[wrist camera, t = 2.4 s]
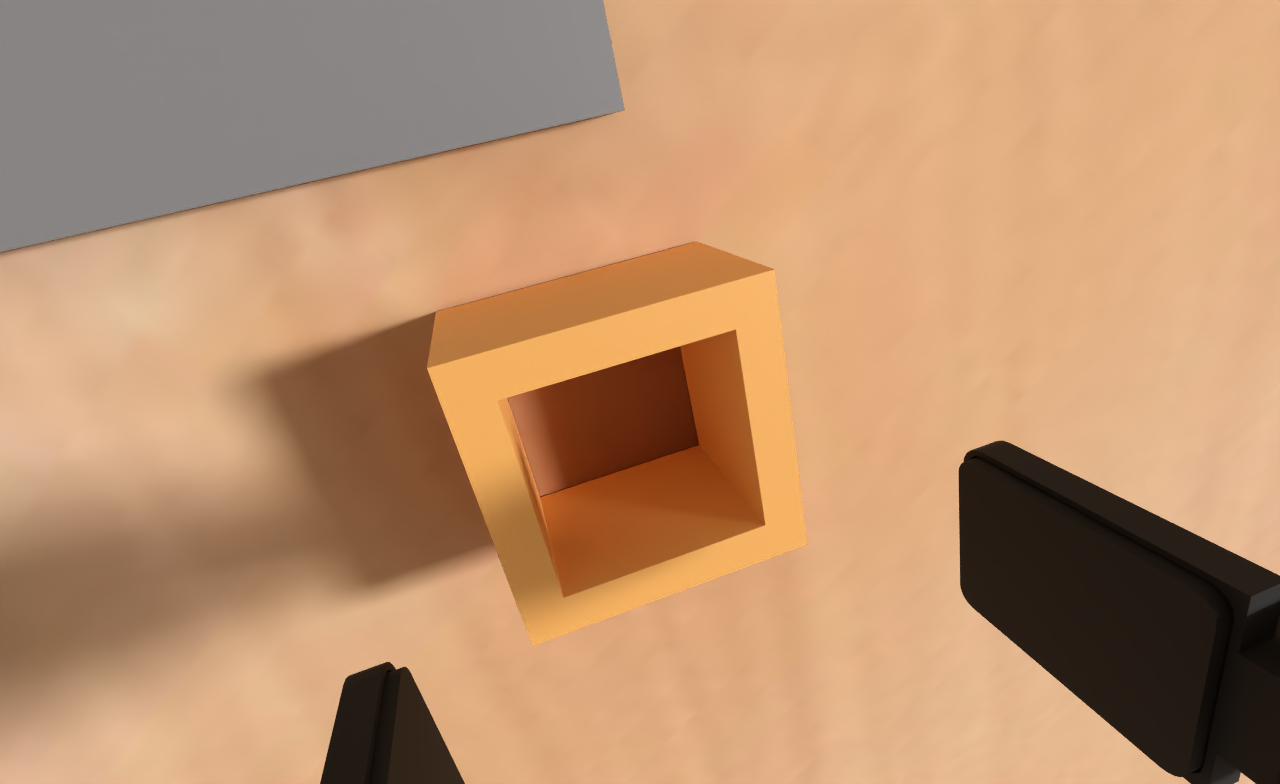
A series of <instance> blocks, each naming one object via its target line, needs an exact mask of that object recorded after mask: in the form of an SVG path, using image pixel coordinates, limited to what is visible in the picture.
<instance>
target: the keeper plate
mask: <svg viewBox="0 0 1280 784" xmlns="http://www.w3.org/2000/svg"><path fill="white" fill-rule="evenodd" d="M623 110H625V109H624V104H623V99H622V94H621V89H620V84H619V79H618V74H617V69H616V64H615V59H614V54H613V49H612V44H611V39H610V34H609V29H608V24H607V19H606V14H605V9H604V4H603V0H0V252H4V251H9V250H13V249H18V248H22V247H26V246H31V245H35V244H40V243H44V242H48V241H53V240H57V239H62V238H66V237H70V236H75V235H79V234H84V233H88V232H92V231H97V230H101V229H106V228H110V227H114V226H119V225H123V224H128V223H132V222H136V221H141V220H145V219H150V218H154V217H158V216H163V215H167V214H172V213H176V212H180V211H185V210H189V209H194V208H198V207H202V206H207V205H211V204H216V203H220V202H225V201H229V200H233V199H238V198H242V197H247V196H251V195H255V194H260V193H264V192H269V191H273V190H277V189H282V188H286V187H291V186H295V185H299V184H304V183H308V182H313V181H317V180H321V179H326V178H330V177H335V176H339V175H343V174H348V173H352V172H357V171H361V170H365V169H370V168H374V167H379V166H383V165H387V164H392V163H396V162H401V161H405V160H410V159H414V158H418V157H423V156H427V155H432V154H436V153H440V152H445V151H449V150H454V149H458V148H462V147H467V146H471V145H476V144H480V143H484V142H489V141H493V140H498V139H502V138H506V137H511V136H515V135H520V134H524V133H528V132H533V131H537V130H542V129H546V128H550V127H555V126H559V125H564V124H568V123H572V122H577V121H581V120H586V119H590V118H594V117H599V116H603V115H608V114H612V113H616V112H620V111H623Z"/></svg>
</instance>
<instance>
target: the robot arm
mask: <svg viewBox="0 0 1280 784" xmlns="http://www.w3.org/2000/svg"><path fill="white" fill-rule="evenodd" d="M959 525H960V585H961V590H962V593H963V595H964V597H965V599H966V600H967V602H968V603H969V604H970V605H971V606H972V607H973V608H974V609H975V610H976V611H977V612H978V613H980V614H981V615H982V616H983V617H984V618H986V619H987V620H988V621H989V622H990V623H991V624H993V625H994V626H995V627H996V628H997V629H998V630H1000V631H1001V632H1002V633H1003V634H1004V635H1006V636H1007V637H1008V638H1009V639H1010V640H1011V641H1013V642H1014V643H1015V644H1016V645H1017V646H1018V647H1020V648H1021V649H1022V650H1023V651H1024V652H1026V653H1027V654H1028V655H1029V656H1030V657H1031V658H1033V659H1034V660H1035V661H1036V662H1037V663H1038V664H1040V665H1041V666H1042V667H1043V668H1044V669H1046V670H1047V671H1048V672H1049V673H1050V674H1051V675H1053V676H1054V677H1055V678H1056V679H1057V680H1058V681H1060V682H1061V683H1062V684H1063V685H1064V686H1065V687H1067V688H1068V689H1069V690H1070V691H1071V692H1073V693H1074V694H1075V695H1076V696H1077V697H1078V698H1080V699H1081V700H1082V701H1083V702H1084V703H1085V704H1087V705H1088V706H1089V707H1090V708H1091V709H1093V710H1094V711H1095V712H1096V713H1097V714H1098V715H1100V716H1101V717H1102V718H1103V719H1104V720H1105V721H1107V722H1108V723H1109V724H1110V725H1111V726H1113V727H1114V728H1115V729H1116V730H1117V731H1118V732H1120V733H1121V734H1122V735H1123V736H1124V737H1125V738H1127V739H1128V740H1129V741H1130V742H1131V743H1133V744H1134V745H1135V746H1136V747H1137V748H1138V749H1140V750H1141V751H1142V752H1143V753H1144V754H1145V755H1147V756H1148V757H1149V758H1150V759H1151V760H1153V761H1154V762H1155V763H1156V764H1157V765H1158V766H1160V767H1161V768H1162V769H1164V770H1165V771H1166V772H1168V773H1170V774H1172V775H1174V776H1178V777H1184V778H1185V779H1186V780H1187V781H1188V782H1190V783H1191V784H1234V783H1236V782H1238V781H1239V777H1240V773H1241V772H1242V773H1243V774H1244V775H1245V776H1247V777H1248V778H1249V779H1251V780H1252V781H1253V782H1255V783H1256V784H1280V576H1279V575H1277V574H1275V573H1273V572H1271V571H1269V570H1267V569H1265V568H1263V567H1261V566H1259V565H1257V564H1255V563H1253V562H1251V561H1249V560H1247V559H1245V558H1242V557H1240V556H1238V555H1236V554H1234V553H1232V552H1230V551H1228V550H1226V549H1224V548H1222V547H1220V546H1218V545H1216V544H1214V543H1212V542H1210V541H1208V540H1206V539H1204V538H1202V537H1200V536H1198V535H1196V534H1194V533H1192V532H1190V531H1188V530H1186V529H1184V528H1181V527H1179V526H1177V525H1175V524H1173V523H1171V522H1169V521H1167V520H1165V519H1163V518H1161V517H1159V516H1157V515H1155V514H1153V513H1151V512H1149V511H1147V510H1145V509H1143V508H1141V507H1139V506H1137V505H1135V504H1133V503H1131V502H1129V501H1127V500H1125V499H1122V498H1120V497H1118V496H1116V495H1114V494H1112V493H1110V492H1108V491H1106V490H1104V489H1102V488H1100V487H1098V486H1096V485H1094V484H1092V483H1090V482H1088V481H1086V480H1084V479H1082V478H1080V477H1078V476H1076V475H1074V474H1072V473H1070V472H1068V471H1066V470H1063V469H1061V468H1059V467H1057V466H1055V465H1053V464H1051V463H1049V462H1047V461H1045V460H1043V459H1041V458H1039V457H1037V456H1035V455H1033V454H1031V453H1029V452H1027V451H1025V450H1023V449H1021V448H1019V447H1017V446H1015V445H1013V444H1011V443H1008V442H1005V441H996V442H993V443H990V444H988V445H985V446H982V447H979V448H976V449H974V450H971V451H969V452H968V453H967V454H966V455H965V457H964V463H962V464H961V465H960V467H959ZM320 784H465V783H464V781H463V779H462V777H461V775H460V773H459V771H458V769H457V767H456V765H455V763H454V761H453V759H452V757H451V754H450V752H449V750H448V748H447V746H446V744H445V742H444V740H443V738H442V736H441V734H440V732H439V730H438V728H437V726H436V724H435V722H434V720H433V718H432V716H431V714H430V712H429V709H428V707H427V705H426V703H425V701H424V699H423V697H422V695H421V693H420V691H419V689H418V687H417V685H416V683H415V681H414V679H413V677H412V675H411V673H410V671H409V669H408V668H406V667H402V668H400V669H397V670H396V669H395V667H394V666H393V665H392V664H391V663H390V662H386V663H383V664H380V665H377V666H375V667H372V668H369V669H366V670H364V671H361V672H358V673H355V674H353V675H350V676H348V677H347V678H346V680H345V682H344V685H343V689H342V693H341V697H340V702H339V706H338V710H337V714H336V719H335V723H334V727H333V731H332V736H331V740H330V744H329V748H328V753H327V757H326V761H325V765H324V770H323V774H322V778H321V782H320Z"/></svg>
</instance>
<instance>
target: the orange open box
mask: <svg viewBox="0 0 1280 784" xmlns="http://www.w3.org/2000/svg"><path fill="white" fill-rule="evenodd" d="M679 346H680V348H681V354H682V359H683V364H684V369H685V374H686V379H687V385H688V390H689V395H690V400H691V405H692V410H693V416H694V421H695V426H696V431H697V436H698V441H699V445H698V446H695V447H692V448H689V449H686V450H682V451H679V452H676V453H673V454H670V455H667V456H664V457H661V458H658V459H655V460H652V461H649V462H646V463H643V464H640V465H637V466H634V467H631V468H628V469H625V470H622V471H619V472H616V473H613V474H610V475H607V476H604V477H601V478H598V479H594V480H591V481H588V482H585V483H582V484H579V485H576V486H573V487H570V488H567V489H564V490H561V491H558V492H555V493H552V494H549V495H546V496H543V497H540V496H539V493H538V490H537V487H536V484H535V481H534V477H533V474H532V471H531V468H530V465H529V462H528V459H527V456H526V453H525V450H524V447H523V444H522V441H521V438H520V435H519V432H518V429H517V426H516V423H515V420H514V417H513V414H512V411H511V408H510V405H509V402H508V397H511V396H515V395H518V394H522V393H525V392H528V391H532V390H535V389H538V388H542V387H545V386H548V385H552V384H555V383H558V382H562V381H565V380H568V379H572V378H575V377H578V376H582V375H585V374H588V373H592V372H595V371H598V370H602V369H605V368H608V367H612V366H615V365H619V364H622V363H625V362H629V361H632V360H635V359H639V358H642V357H645V356H649V355H652V354H655V353H659V352H662V351H665V350H669V349H672V348H675V347H679ZM427 370H428V373H429V375H430V378H431V380H432V383H433V386H434V388H435V391H436V394H437V396H438V399H439V401H440V404H441V407H442V409H443V412H444V415H445V417H446V420H447V422H448V425H449V428H450V430H451V433H452V436H453V438H454V441H455V443H456V446H457V449H458V451H459V454H460V457H461V459H462V462H463V464H464V467H465V470H466V472H467V475H468V478H469V480H470V483H471V485H472V488H473V491H474V493H475V496H476V499H477V501H478V504H479V507H480V509H481V512H482V514H483V517H484V520H485V522H486V525H487V528H488V530H489V533H490V535H491V538H492V541H493V543H494V546H495V549H496V551H497V554H498V556H499V559H500V562H501V564H502V567H503V570H504V572H505V575H506V577H507V580H508V583H509V585H510V588H511V591H512V593H513V596H514V598H515V601H516V604H517V606H518V609H519V612H520V614H521V617H522V619H523V622H524V625H525V627H526V630H527V633H528V635H529V638H530V641H531V643H532V646H534V645H537V644H539V643H542V642H545V641H548V640H550V639H553V638H556V637H558V636H561V635H564V634H566V633H569V632H572V631H575V630H577V629H580V628H583V627H585V626H588V625H591V624H594V623H596V622H599V621H602V620H604V619H607V618H610V617H612V616H615V615H618V614H621V613H623V612H626V611H629V610H631V609H634V608H637V607H639V606H642V605H645V604H648V603H650V602H653V601H656V600H658V599H661V598H664V597H666V596H669V595H672V594H675V593H677V592H680V591H683V590H685V589H688V588H691V587H693V586H696V585H699V584H702V583H704V582H707V581H710V580H712V579H715V578H718V577H721V576H723V575H726V574H729V573H731V572H734V571H737V570H739V569H742V568H745V567H748V566H750V565H753V564H756V563H758V562H761V561H764V560H766V559H769V558H772V557H775V556H777V555H780V554H783V553H785V552H788V551H791V550H793V549H796V548H799V547H802V546H804V545H807V539H806V530H805V522H804V513H803V505H802V497H801V488H800V480H799V471H798V463H797V455H796V446H795V438H794V429H793V421H792V413H791V404H790V396H789V388H788V379H787V371H786V362H785V354H784V346H783V337H782V329H781V320H780V312H779V304H778V295H777V287H776V278H775V270H774V269H772V268H769V267H766V266H763V265H761V264H758V263H755V262H752V261H749V260H747V259H744V258H741V257H738V256H736V255H733V254H730V253H727V252H724V251H722V250H719V249H716V248H713V247H710V246H708V245H705V244H702V243H699V242H693V243H690V244H686V245H682V246H678V247H675V248H671V249H667V250H664V251H660V252H656V253H652V254H649V255H645V256H641V257H638V258H634V259H630V260H627V261H623V262H619V263H615V264H612V265H608V266H604V267H601V268H597V269H593V270H589V271H586V272H582V273H578V274H575V275H571V276H567V277H564V278H560V279H556V280H552V281H549V282H545V283H541V284H538V285H534V286H530V287H527V288H523V289H519V290H515V291H512V292H508V293H504V294H501V295H497V296H493V297H489V298H486V299H482V300H478V301H475V302H471V303H467V304H464V305H460V306H456V307H452V308H449V309H445V310H441V311H438V312H436V314H435V320H434V327H433V333H432V339H431V346H430V352H429V358H428V365H427Z"/></svg>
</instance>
